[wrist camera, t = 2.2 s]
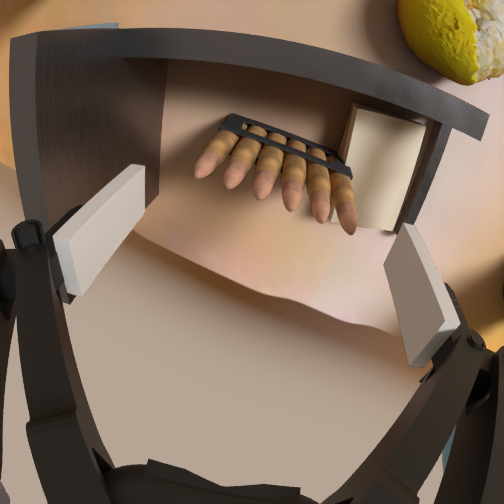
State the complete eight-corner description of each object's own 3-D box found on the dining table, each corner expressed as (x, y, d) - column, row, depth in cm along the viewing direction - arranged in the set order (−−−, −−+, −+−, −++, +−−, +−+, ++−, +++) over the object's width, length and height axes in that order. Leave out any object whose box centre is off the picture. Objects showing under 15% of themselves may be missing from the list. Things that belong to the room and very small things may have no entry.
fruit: (487, 104, 20) (515, 114, 14) (384, 53, 22) (378, 42, 16) (515, 8, 13) (546, -10, 7) (411, -43, 15) (411, -79, 9)
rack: (452, 99, 21) (576, 166, 8) (395, 247, 30) (435, 382, 17) (150, 31, 21) (10, 38, 8) (140, 190, 31) (47, 295, 18)
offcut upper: (420, 122, 22) (426, 126, 21) (388, 224, 28) (392, 231, 27) (353, 105, 22) (357, 108, 21) (328, 215, 28) (330, 222, 27)
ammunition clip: (224, 131, 26) (176, 186, 17) (231, 112, 25) (183, 155, 16) (339, 174, 27) (358, 252, 17) (347, 156, 26) (374, 226, 16)
